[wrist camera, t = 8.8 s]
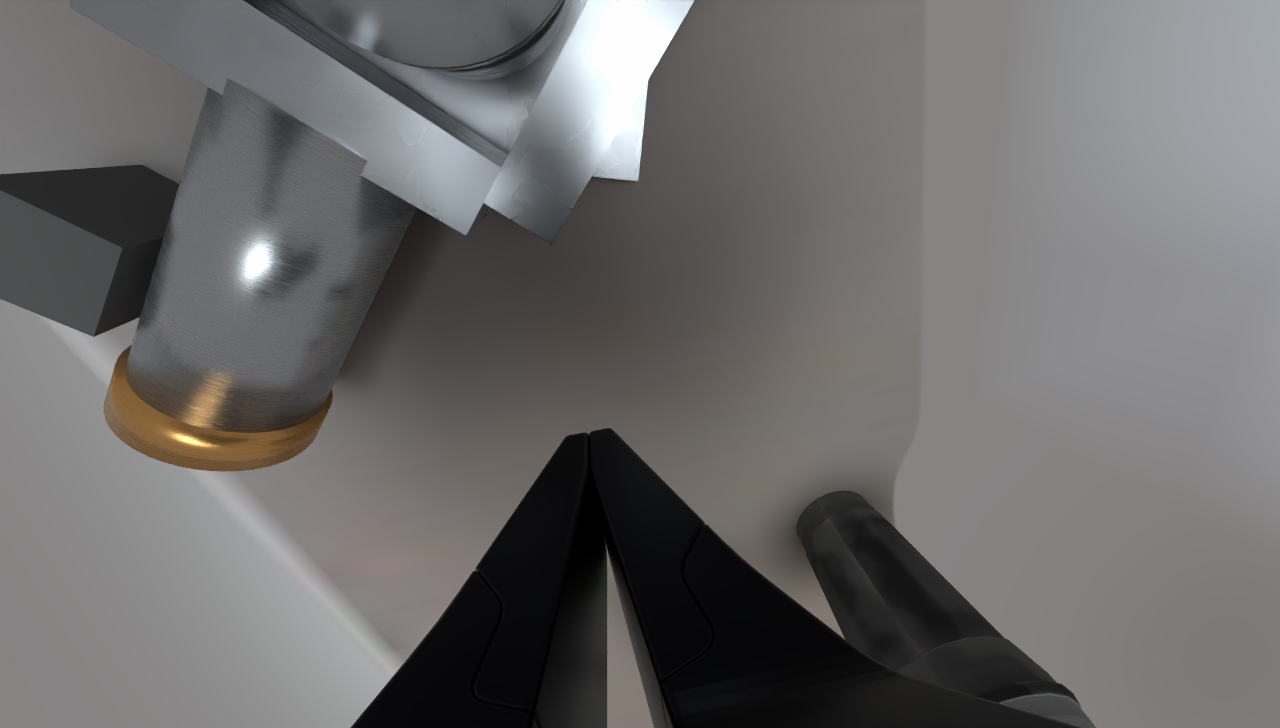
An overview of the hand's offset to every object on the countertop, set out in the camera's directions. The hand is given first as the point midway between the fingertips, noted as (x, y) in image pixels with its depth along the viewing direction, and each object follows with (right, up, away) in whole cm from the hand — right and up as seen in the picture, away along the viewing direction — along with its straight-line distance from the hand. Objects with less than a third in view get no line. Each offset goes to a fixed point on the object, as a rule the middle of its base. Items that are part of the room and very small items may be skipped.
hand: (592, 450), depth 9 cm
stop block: (-16, +6, +8) cm, 19 cm away
